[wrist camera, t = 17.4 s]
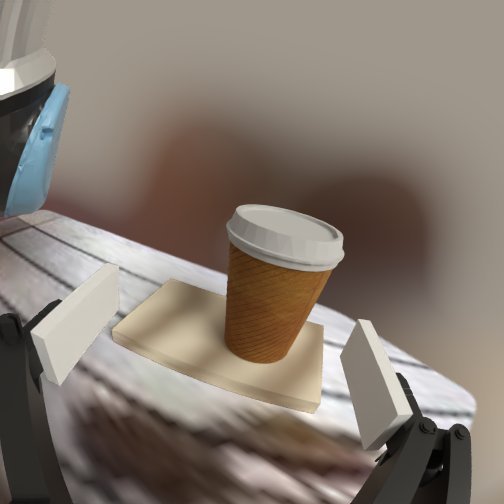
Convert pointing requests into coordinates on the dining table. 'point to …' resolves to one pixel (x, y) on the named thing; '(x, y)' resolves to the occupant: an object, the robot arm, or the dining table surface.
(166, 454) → the dining table surface
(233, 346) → the disposable coffee cup
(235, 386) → the serving board
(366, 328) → the robot arm
